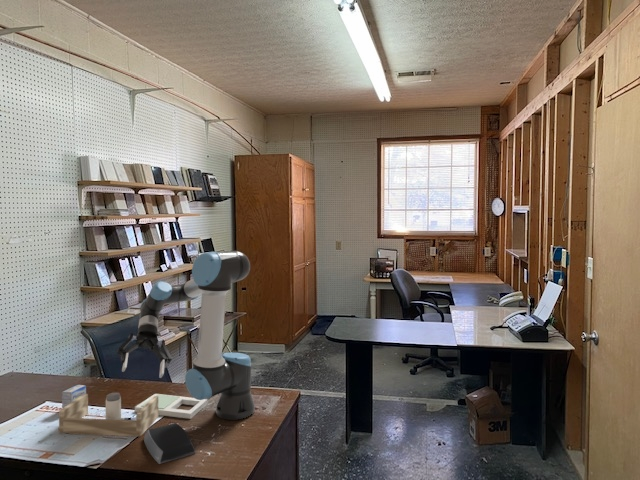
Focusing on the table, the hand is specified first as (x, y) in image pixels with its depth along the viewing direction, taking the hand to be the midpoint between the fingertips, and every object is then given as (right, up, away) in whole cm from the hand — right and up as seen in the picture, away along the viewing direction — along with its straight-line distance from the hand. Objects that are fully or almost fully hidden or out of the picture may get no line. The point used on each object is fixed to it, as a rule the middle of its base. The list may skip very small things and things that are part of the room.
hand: (143, 372), depth 162 cm
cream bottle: (-12, -19, +1) cm, 22 cm away
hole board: (+5, -19, +15) cm, 25 cm away
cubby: (-12, -19, 0) cm, 22 cm away
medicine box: (-32, -18, +12) cm, 39 cm away
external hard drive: (+14, -21, -14) cm, 29 cm away
